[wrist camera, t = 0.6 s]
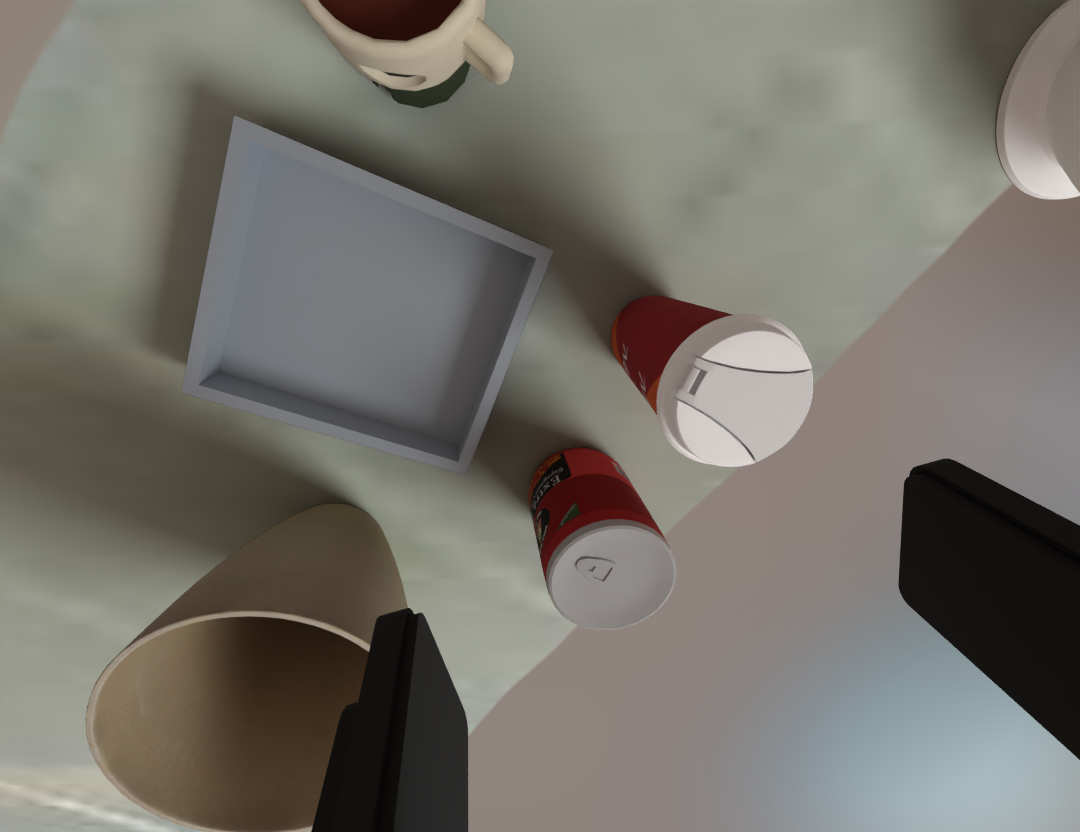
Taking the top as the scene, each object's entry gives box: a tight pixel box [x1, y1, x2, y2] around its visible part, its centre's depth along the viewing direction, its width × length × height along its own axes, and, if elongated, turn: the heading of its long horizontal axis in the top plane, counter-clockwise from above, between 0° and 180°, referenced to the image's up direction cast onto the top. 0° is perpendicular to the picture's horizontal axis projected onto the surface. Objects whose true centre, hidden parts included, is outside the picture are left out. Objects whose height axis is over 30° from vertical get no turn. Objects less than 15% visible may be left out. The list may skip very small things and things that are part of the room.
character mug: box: [301, 0, 514, 108], centre depth 23 cm, size 11×7×13 cm, turn 54°
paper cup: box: [611, 296, 813, 467], centre depth 31 cm, size 8×8×14 cm
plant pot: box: [86, 503, 408, 832], centre depth 32 cm, size 15×15×16 cm
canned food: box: [529, 448, 676, 630], centre depth 36 cm, size 8×8×11 cm
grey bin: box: [181, 115, 554, 475], centre depth 32 cm, size 16×18×4 cm
